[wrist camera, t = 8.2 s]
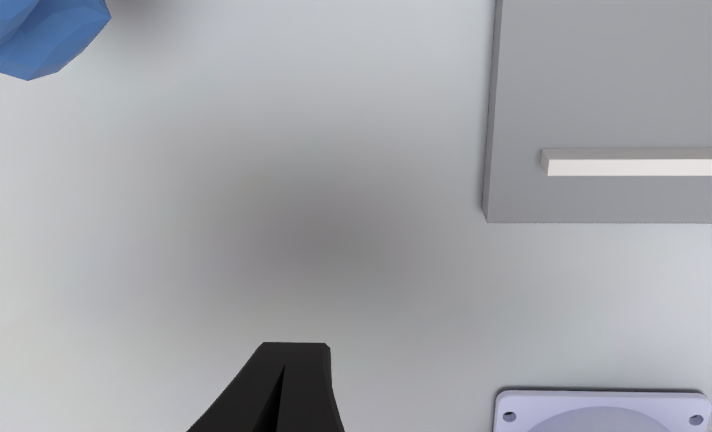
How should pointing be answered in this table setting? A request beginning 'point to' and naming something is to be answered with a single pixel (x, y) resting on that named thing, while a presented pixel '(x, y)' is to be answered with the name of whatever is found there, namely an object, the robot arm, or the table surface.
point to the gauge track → (600, 112)
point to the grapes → (46, 34)
